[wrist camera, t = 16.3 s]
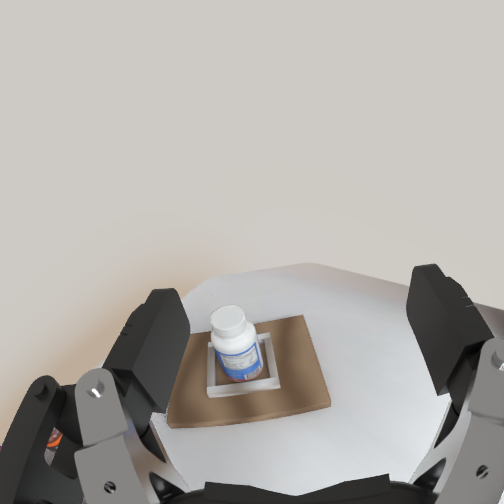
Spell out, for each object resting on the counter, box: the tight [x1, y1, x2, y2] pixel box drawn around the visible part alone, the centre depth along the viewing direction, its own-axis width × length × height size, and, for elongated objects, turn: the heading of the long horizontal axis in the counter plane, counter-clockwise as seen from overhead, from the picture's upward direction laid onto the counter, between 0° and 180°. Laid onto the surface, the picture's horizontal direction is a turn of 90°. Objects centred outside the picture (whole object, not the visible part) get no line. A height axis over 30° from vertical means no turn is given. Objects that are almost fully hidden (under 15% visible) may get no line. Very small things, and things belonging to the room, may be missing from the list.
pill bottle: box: [210, 305, 263, 382], centre depth 33 cm, size 6×5×10 cm
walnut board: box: [167, 315, 331, 428], centre depth 36 cm, size 20×16×3 cm
